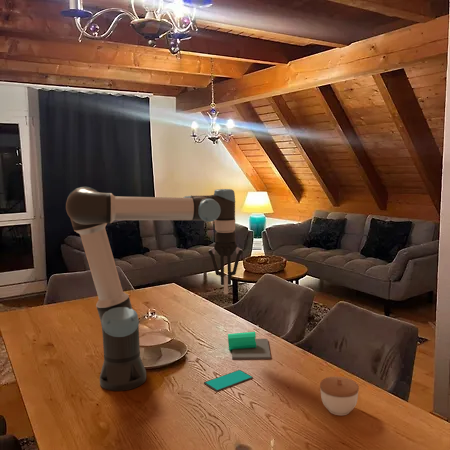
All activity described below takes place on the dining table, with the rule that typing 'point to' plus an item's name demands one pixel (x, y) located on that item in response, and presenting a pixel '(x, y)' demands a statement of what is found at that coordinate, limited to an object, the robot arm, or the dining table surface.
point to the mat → (253, 351)
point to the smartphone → (228, 380)
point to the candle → (242, 340)
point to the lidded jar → (339, 394)
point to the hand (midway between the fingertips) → (226, 293)
